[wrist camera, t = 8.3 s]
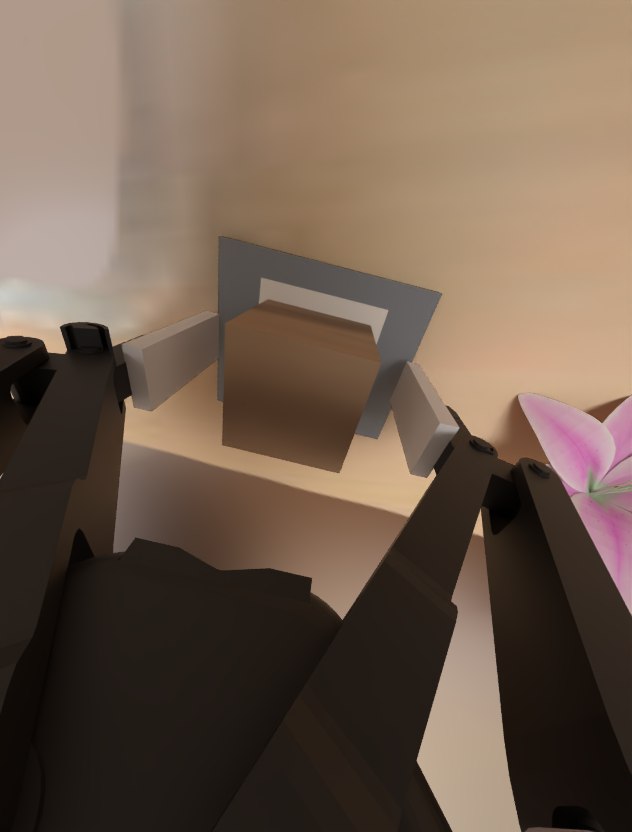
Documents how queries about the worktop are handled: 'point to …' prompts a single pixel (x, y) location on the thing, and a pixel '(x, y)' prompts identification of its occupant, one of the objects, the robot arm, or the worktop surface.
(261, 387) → the walnut block
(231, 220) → the worktop surface
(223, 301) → the slate build plate
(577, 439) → the lily
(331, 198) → the worktop surface
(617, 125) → the worktop surface
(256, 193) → the worktop surface
